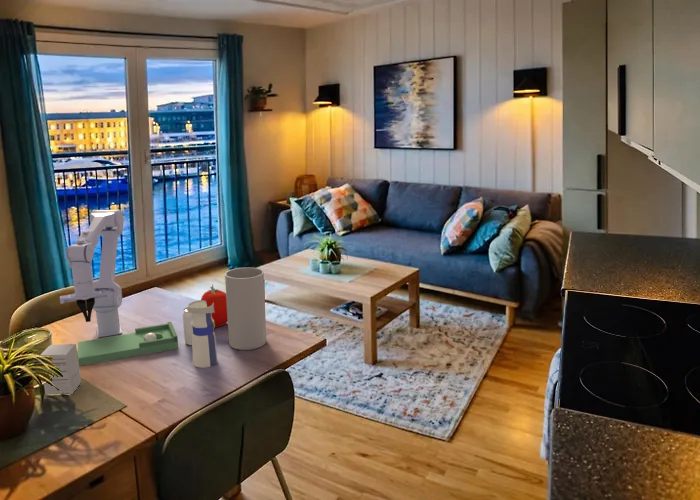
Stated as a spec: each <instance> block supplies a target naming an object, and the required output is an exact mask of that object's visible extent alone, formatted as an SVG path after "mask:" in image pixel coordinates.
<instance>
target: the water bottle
mask: <svg viewBox="0 0 700 500" xmlns="http://www.w3.org/2000/svg"><path fill="white" fill-rule="evenodd" d="M209 287H210V290H212V293H214V295H215V290H216V288H214V285H213V283H212V284H211V286H209ZM187 311H188V312H190V313H192V316H193V319H192V322H191V325H192V327H193V334H192V345H191V346H192V366H194V367H197V368H202V369H203V368H210V367H213V366H215V365H216V364H217V363H218V362H219V360H218V359H219V358H218V352H217V351H218V350H217V339H216V333H215V328H216V327H215V323H214V320H213V319H212V315H211V314H212V313H213V312H214V303H213V304H212V305H211V306H209V307H207V303H206V301H204V300H201V299H199V300H194V301H192V302H190V303H188V305H187ZM214 313H215V312H214Z"/></svg>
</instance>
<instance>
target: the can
mask: <svg viewBox="0 0 700 500" xmlns="http://www.w3.org/2000/svg"><path fill="white" fill-rule="evenodd" d="M187 307H188V306H187ZM187 307H185V308H183V312H182V324H183V333H184V342H185V344H186V345H187V346H192V334H193V327H192V325H191V322H192V319H193V316H192V313H190V312H188V311H187Z"/></svg>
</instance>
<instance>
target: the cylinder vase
mask: <svg viewBox="0 0 700 500" xmlns="http://www.w3.org/2000/svg"><path fill="white" fill-rule="evenodd" d="M224 283H225V293H226V301H227V318H228V322H227V329H228V344H229V346H230V348H232V349H235V350H238V351H250V350H251V351H252V350H257V349H259V348H261V347H264V345H265V344H266V343H267V323H266V322H267V321H266V320H267V319H266V299H265V298H266V297H265V279H264V270H263V269H261V268H257V267H238V268H237V267H236V268H232V269H229V270H227V271H226V272H224Z"/></svg>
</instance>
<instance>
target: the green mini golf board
mask: <svg viewBox="0 0 700 500" xmlns="http://www.w3.org/2000/svg"><path fill="white" fill-rule="evenodd" d="M134 331H135V332H131V333H125V334H117V335H111V336H105V337H98V338H94V339H89V340H88V339H87V340H81V341H78V342H77V356H78V363H79V367H80V366H86V365H91V364H92V365H93V364H98V363H103V362H109V361H113V360H121V359H126V358H131V357H132V358H133V357H138V356H143V355H150V354H154V353H159V352H166V351H172V350H177V349H179V340H178V334H177V332H176V329H175V327H174V325H173V322H172V321H167V323H163V324H157V325H150V326H144V327H137V328H134ZM148 333H154V334H155V335H156V337H157V340H151V341H144V337H145V335H146V334H148Z"/></svg>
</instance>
